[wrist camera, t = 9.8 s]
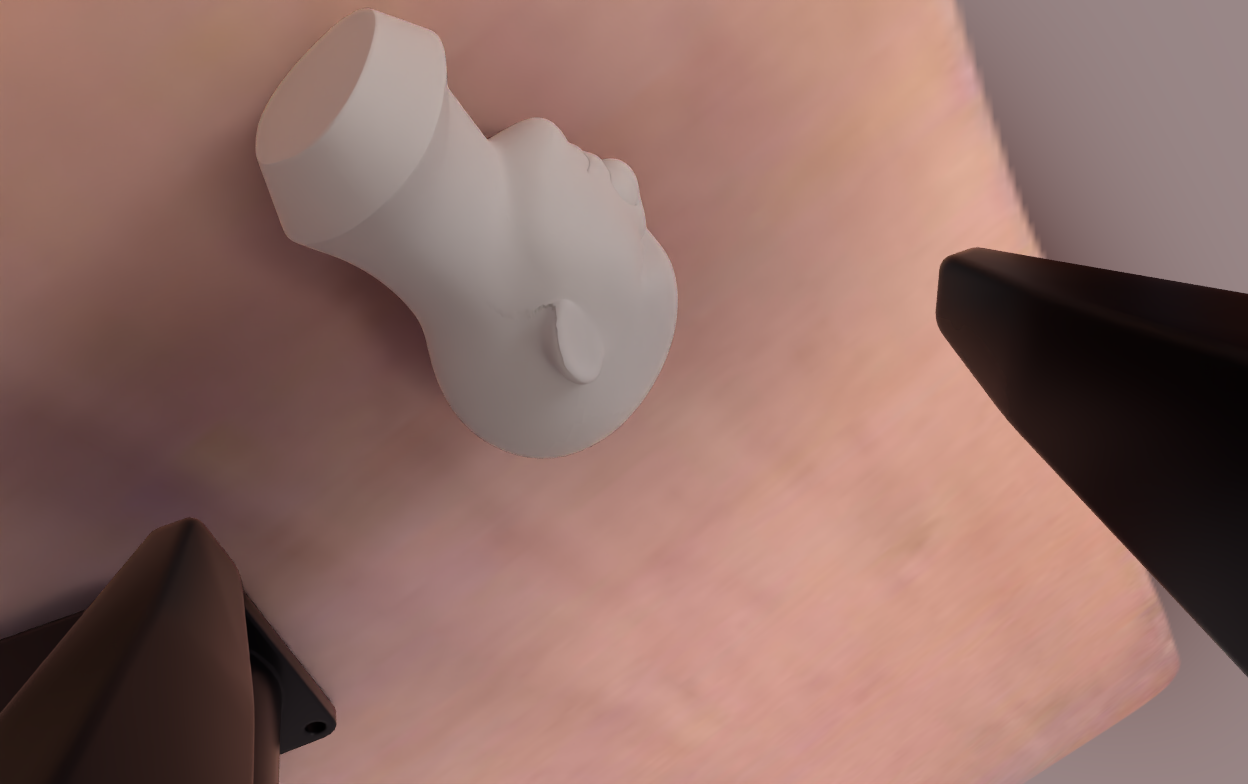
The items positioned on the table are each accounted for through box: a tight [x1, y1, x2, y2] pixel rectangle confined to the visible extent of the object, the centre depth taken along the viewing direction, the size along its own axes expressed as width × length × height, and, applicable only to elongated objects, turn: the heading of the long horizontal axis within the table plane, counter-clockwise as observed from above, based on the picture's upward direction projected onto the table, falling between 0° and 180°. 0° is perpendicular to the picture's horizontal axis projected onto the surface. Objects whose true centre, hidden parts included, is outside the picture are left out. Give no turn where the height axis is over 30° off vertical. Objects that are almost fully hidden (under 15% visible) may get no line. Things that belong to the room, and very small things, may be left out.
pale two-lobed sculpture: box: [256, 8, 678, 459], centre depth 13 cm, size 4×8×5 cm
